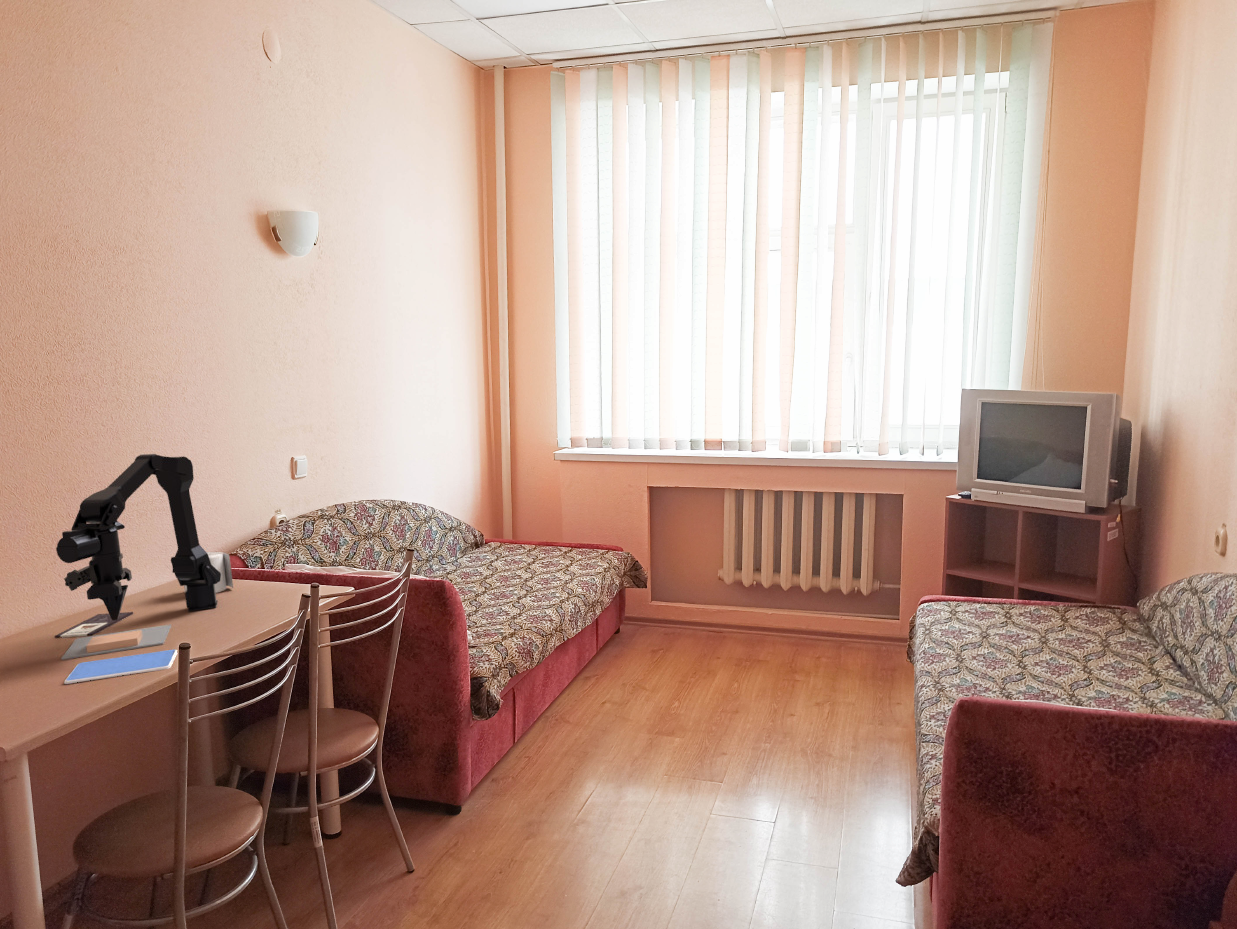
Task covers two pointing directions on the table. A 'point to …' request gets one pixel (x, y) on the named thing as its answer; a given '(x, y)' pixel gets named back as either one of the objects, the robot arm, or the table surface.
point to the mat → (149, 638)
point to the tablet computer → (121, 666)
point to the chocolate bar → (92, 625)
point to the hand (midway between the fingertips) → (115, 619)
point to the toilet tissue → (221, 570)
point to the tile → (114, 641)
